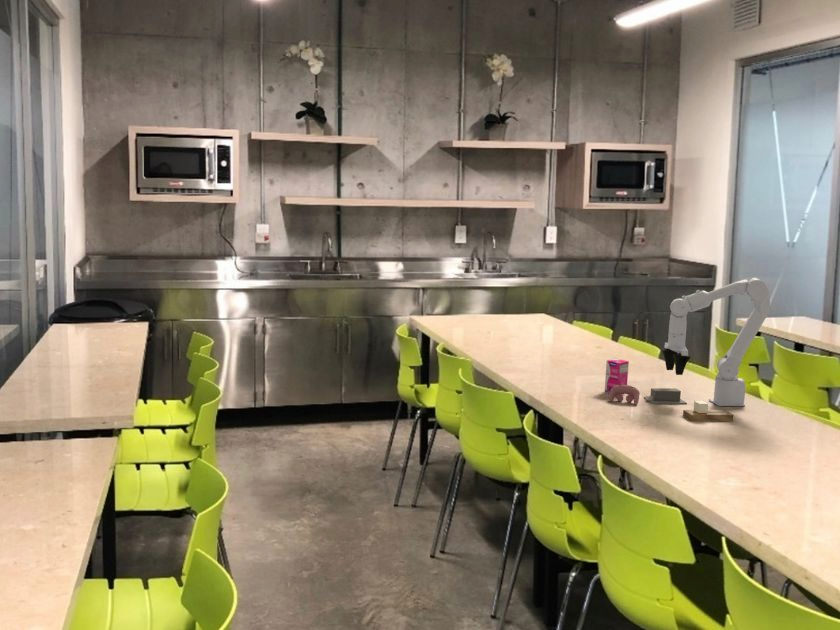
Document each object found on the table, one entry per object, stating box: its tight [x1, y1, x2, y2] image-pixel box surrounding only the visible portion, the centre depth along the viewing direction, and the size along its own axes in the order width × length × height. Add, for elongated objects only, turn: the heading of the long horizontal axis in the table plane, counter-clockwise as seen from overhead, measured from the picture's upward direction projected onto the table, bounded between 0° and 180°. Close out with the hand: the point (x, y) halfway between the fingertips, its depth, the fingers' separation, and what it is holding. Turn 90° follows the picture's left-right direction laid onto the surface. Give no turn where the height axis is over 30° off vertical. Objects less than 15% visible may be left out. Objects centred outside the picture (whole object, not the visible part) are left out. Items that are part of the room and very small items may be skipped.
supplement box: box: [604, 358, 630, 393], centre depth 300 cm, size 6×6×12 cm
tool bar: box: [645, 387, 682, 401], centre depth 289 cm, size 11×4×4 cm, turn 96°
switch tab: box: [693, 400, 709, 413], centre depth 268 cm, size 3×4×3 cm
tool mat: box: [643, 396, 688, 405], centre depth 289 cm, size 12×8×1 cm, turn 97°
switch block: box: [682, 409, 734, 422], centre depth 268 cm, size 14×6×2 cm, turn 97°
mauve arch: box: [608, 384, 641, 406], centre depth 286 cm, size 10×5×7 cm, turn 67°
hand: (674, 372), depth 292 cm, fingers open, 7 cm apart
